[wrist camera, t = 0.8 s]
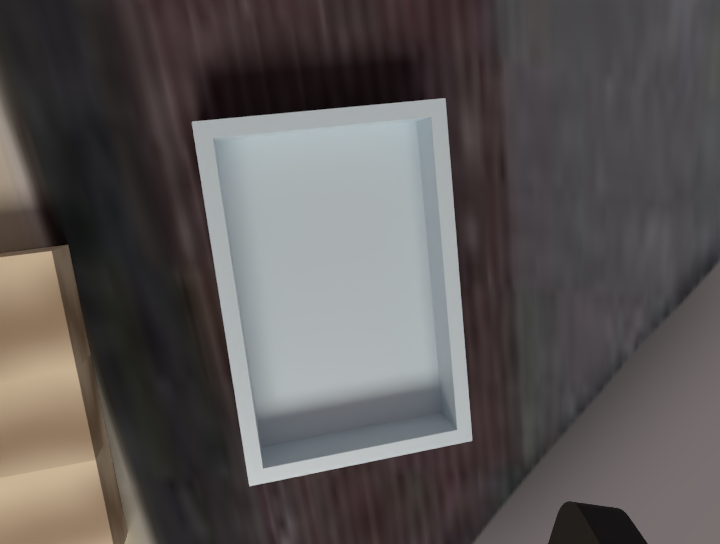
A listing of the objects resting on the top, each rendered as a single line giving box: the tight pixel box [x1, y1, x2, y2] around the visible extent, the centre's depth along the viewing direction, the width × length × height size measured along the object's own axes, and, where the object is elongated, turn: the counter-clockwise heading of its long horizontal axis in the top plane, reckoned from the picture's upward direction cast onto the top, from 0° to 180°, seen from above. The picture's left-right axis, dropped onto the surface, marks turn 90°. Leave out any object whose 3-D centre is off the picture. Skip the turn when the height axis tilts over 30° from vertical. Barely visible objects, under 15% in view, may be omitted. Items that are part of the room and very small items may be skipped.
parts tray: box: [192, 98, 472, 486], centre depth 30 cm, size 18×12×3 cm, turn 6°
